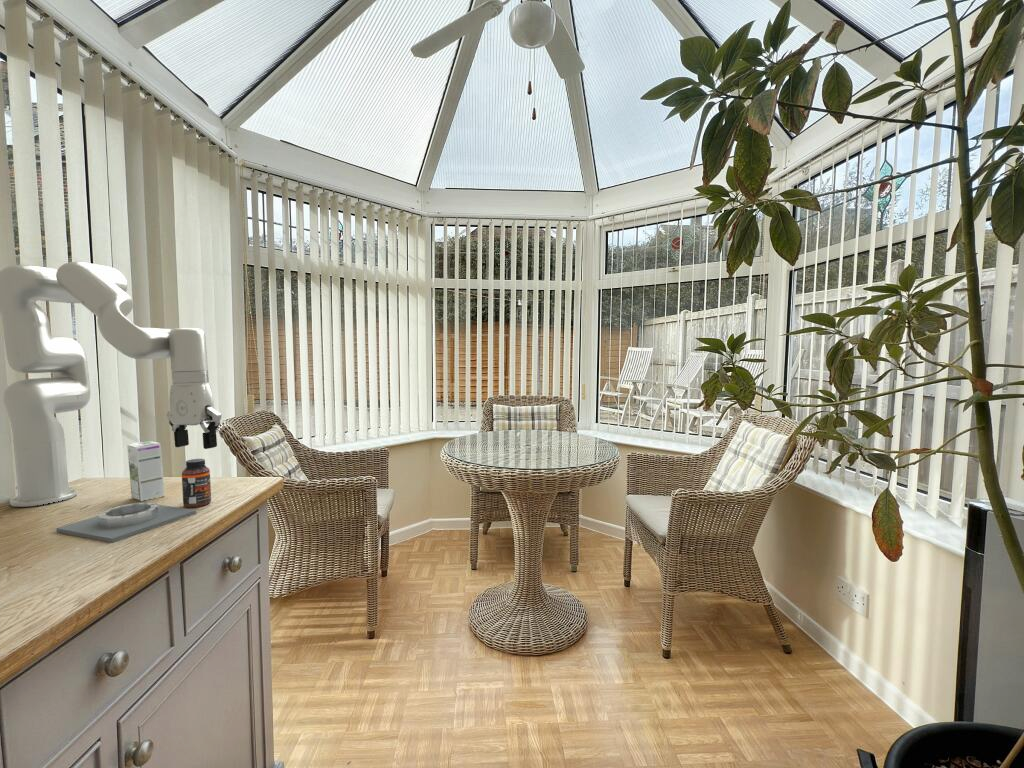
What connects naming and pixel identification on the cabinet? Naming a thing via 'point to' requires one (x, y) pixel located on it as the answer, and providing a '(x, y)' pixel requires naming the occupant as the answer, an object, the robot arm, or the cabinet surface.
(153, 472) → the syrup box
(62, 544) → the cabinet surface
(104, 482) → the cabinet surface
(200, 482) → the supplement bottle
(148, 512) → the ring collar
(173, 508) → the rubber mat
